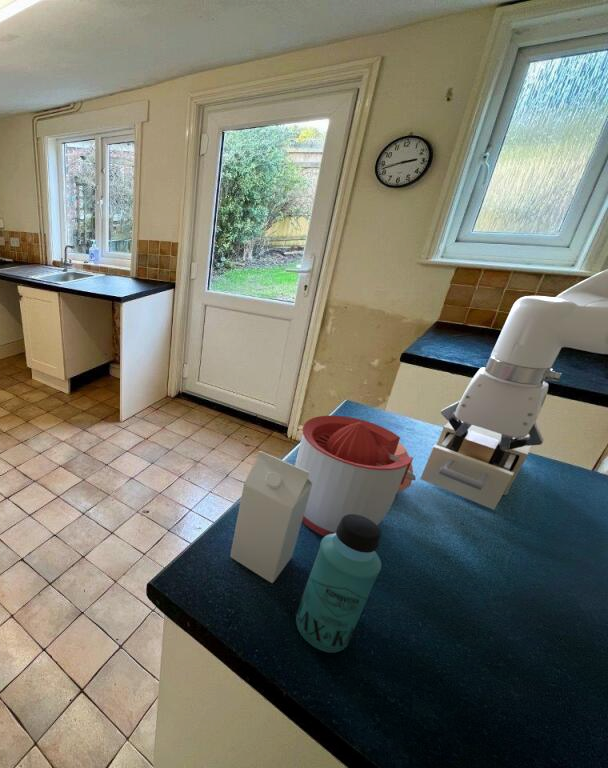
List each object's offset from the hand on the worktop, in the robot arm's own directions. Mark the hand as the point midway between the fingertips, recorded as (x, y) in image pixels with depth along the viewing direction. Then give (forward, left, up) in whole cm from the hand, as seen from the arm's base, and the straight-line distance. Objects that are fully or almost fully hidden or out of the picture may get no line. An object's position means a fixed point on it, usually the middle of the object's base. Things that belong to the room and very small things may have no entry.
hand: (473, 457), depth 78 cm
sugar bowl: (+13, +10, -8) cm, 18 cm away
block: (0, 0, 0) cm, 0 cm away
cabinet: (0, -12, -7) cm, 14 cm away
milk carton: (+16, +45, -8) cm, 49 cm away
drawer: (0, 0, -7) cm, 7 cm away
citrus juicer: (+12, +27, -8) cm, 31 cm away
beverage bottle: (+4, +51, -8) cm, 52 cm away
